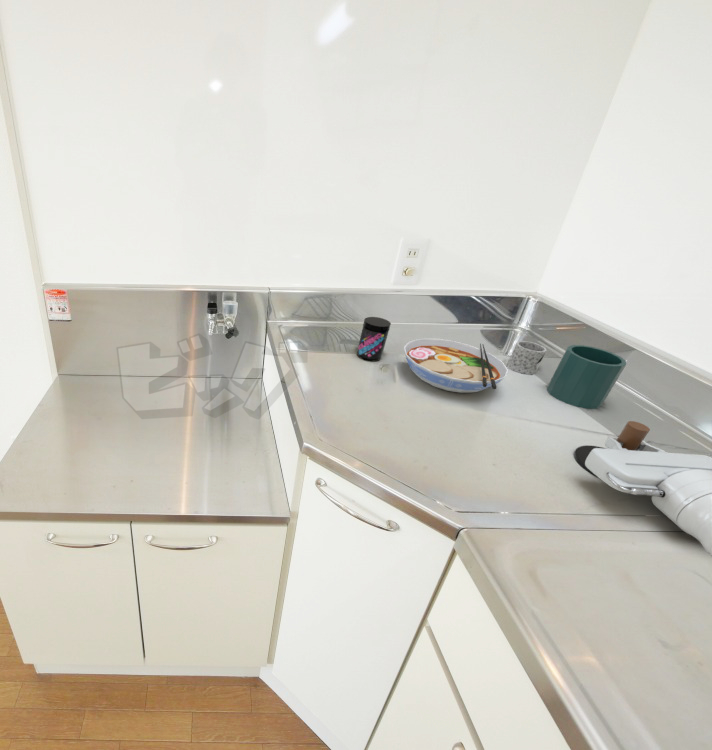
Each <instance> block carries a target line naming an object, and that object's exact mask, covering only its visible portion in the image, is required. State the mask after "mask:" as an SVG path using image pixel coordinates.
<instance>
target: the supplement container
mask: <svg viewBox="0 0 712 750" xmlns="http://www.w3.org/2000/svg"><path fill="white" fill-rule="evenodd" d="M391 325H392V322H391V321H389V320H387V319H385V318H382V317H380V316H379V317H377V316H368V317H365V318H364V319H363V324H362V329H361V333H360V337H359V341H358V345H357V350H356V354H357V356H358V357H359V358H360V359H361V360H363V361H366V362H367V361H368V362H377V361H380V360H381V359H382V357H383V353H384V350H385V346H386V344H387V339H388V337H389V336H388V335H389V332H390V329H391Z"/></svg>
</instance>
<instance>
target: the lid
mask: <svg viewBox="0 0 712 750" xmlns="http://www.w3.org/2000/svg"><path fill="white" fill-rule="evenodd" d="M650 431H651V429H650V427H649V426H647V425H646V424H643V423H641V422H638V421H634V420H629V421H627V422H626V424H625V425H624V427H623V429H622V430H621V431H620V434H618V436H617V438H618V439H620V441H622V442H623V443H624V445H623V446H622V448H626V449H627V450H634V451H636V450H637V448H638V447H639V445H640V444H641V442H642V441H643V440H644V441H645V439H646V437H647V435H648V434H649V432H650ZM594 448H603V449H607V447H602V446H597V445H580V446H578V447H577V448H576V449H575V450H574V453H573V457H574V459H575V461H576V462H577V464H578V465H580V466H581V467H582V468H583V469H584V470H585V471H587V472H588V473H590V474H591V475H593V476H594V477H597V476H596V475H595V474H594V473H593V472H591V471H590V470H589V469H588V468H587V467H586V466H585V461H586V458H587V457H588V455H589V454H590V452H591V451H592V449H594ZM597 478H598V479H600V478H599V477H597Z"/></svg>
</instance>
